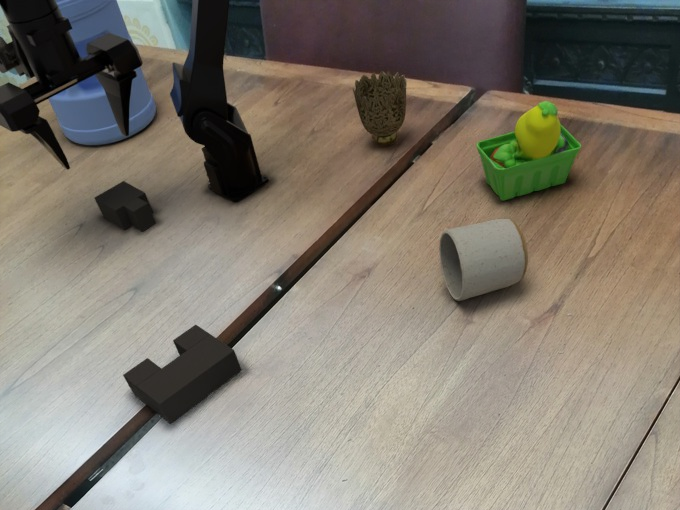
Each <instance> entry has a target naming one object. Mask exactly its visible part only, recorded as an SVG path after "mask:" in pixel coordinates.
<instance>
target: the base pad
mask: <svg viewBox="0 0 680 510" xmlns="http://www.w3.org/2000/svg"><path fill="white" fill-rule="evenodd" d="M172 342H173V344H174V347H175V348H176V350H177V353H178V355H179V356H177V357H176V358H174V359H173V360H171V361H170V362H168V363H167V364H166V365H165V366H163V367H160V366H159V365H157V364H156V363H155V362H153V360H151V359H150V358H148V357H147V358H145V359H143V360H142V361H141V362H139V363H138V364H137V365H135V366H133V367H132V368H130V369H129V370H128V371H126V372H125V373H123V375H122V376H123V378H124V381H125V382H126V383H127V385H128V387H129V388H130V391H131V392H132V394H133V395H134V396H135V397H136V398H137V399H139V400H140V401H141V402H142V403H144V404H145V405H146V406H147V407H148V408H150V409H151V410H152V411H154V412H155V413H156V414H157V415H159V416H160V417H161V418H162V419H164V420H165V421H166V422H168V423H169V424H172V423H173V422H174V421H176V420H177V419H179V418H180V417H182V416H183V415H184V414H185V413H187V412H188V411H189V410H191V409H192V408H193V407H195V406H196V405H198V404H199V403H200V402H201V401H203V400H204V399H206V398H207V397H208V396H210V395H211V394H212V393H214V392H215V391H217V390H218V389H219V388H220V387H222V386H223V385H224V384H226V383H227V382H228V381H230V380H232V378H233V377H235V376H237V375H238V374H240V372H242V368H241V367H242V366H241V364H240V361H239V359H238V356H237V353H236V351H235V350H234V349H233V348H232V347H230V346H228V344H226V343H224V342H223V341H222V340H220V339H219V338H217V337H215V336H214V335H213V334H211V333H209V332H208V331H207V330H205V329H204V328H202V327H200V326H199V325H198V324H194V325H192V327H190V328H189V329H187V330H186V331H184V332H183V333H181V334H180V335H178V336H177V337H175V338H174V339H173V340H172Z"/></svg>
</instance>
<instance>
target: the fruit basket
mask: <svg viewBox="0 0 680 510" xmlns="http://www.w3.org/2000/svg"><path fill="white" fill-rule="evenodd" d="M558 114H559V113H558V108H557V106H556V104H555V103H553V102H551V101H548V100H542V101H541V102H539V103H537V105H535V106H534V107H532V108H530V109H529V110H527V111H526V112H524V114H522V115H521V116H520V117H519V118H518V120H517V121H516V123H515V127H514V131H511V132H508V133H505V134H501V135H498V136H494V137H491V138H488V139H487V138H486V139H484V140H480V141H478V142H477V143H476V149H477V153H478V154H479V157H480V160H481V164H482V168H483V169H482V170H483V173H484V176H485V177H484V178H485V181H486V184H487V185H489V186H490V188H491V189H492V190H493V192H494V193H495V195H497V196H498V197H499V199H500V201H507V200H511V199H513V198H515V197H521V196H525V195H528V194H531V193H533V192H538V191H539V192H540V191H542V190H545V189H546V190H547V189H549V188H550V187H555V186H559V185H564V184H565V183H566V181H567V178H568V176H569V174H570V172H571V169H572V167H573V164H574V162H575V159H576V157H577V155H578V154H579V152H580V150H581V148H582V144H581V143H580V142H579V141H578V140H577V139H576V138H575V137H574V136H573V135H572V134H571V133H570V132H569V130H567V129H566V128H565V127H564V126H563V125H562V124H561V121H560V119H559V117H558Z"/></svg>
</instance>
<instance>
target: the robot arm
mask: <svg viewBox="0 0 680 510" xmlns="http://www.w3.org/2000/svg"><path fill="white" fill-rule="evenodd" d="M230 1H231V0H192V3H191V5H192V6H191V20H190V33H189V48H188V51H187V52H188V53H187V56H186V58H185V60H184V63H183V65H182V64H179V63H177V62H172V63H171V64H172V76H173V84H172V89H171V90H170V92H169V96H170V99H171V102H172V104H173V108H174V110H175V114H176V116H177V118H179V119H180V123H181V124H182V127H183V131H184V133H185V134H186V135H187V137H188V138H189V139H190V140H191V141H192V142H194V143H196V144H198V145H201V146H203V147H202V148H201V152H202V154H203V157H204V161H203V167H204V169H205V172H206V176H207V179H208V182H209V183H208V184H207V187H208V189H209V190H210V191H212V192H215V194H218V195H220V196H221V197H224V198H226V199H228V200H229V201H232V202H235V203H236V202H239V201H240V200H242V199H243V198H245V197H246V196H249V195H250V194H251V193H253V192H254V191H256V190H258V189H259V188H261V187H262V186H264V185H265V184H267V183H269V182H270V179H269V176H267V175H264V174H263V173H262V172H261V168H260V165H259V161H258V158H257V154H256V150H255V146H254V141H253V139H252V134H251V133H249V131H248V130H247V128H246V126H245V123H244V121H243V119H242V116H241V114H240V113H239V110H238V108H237V107H236V106H235V105H233V104H231V103H230V102H228V96H227V89H226V88H227V87H226V81H225V73H224V59H225V49H226V40H227V30H228V22H229V21H228V20H229V11H230ZM0 8H1V10H2V12H3V14H4V17H5V18H6V21H7V22H8V25H7V26H6V28H7V31H8V34H9V36H10V38H11V41H10V42H8V43H7V42H6V40H5V39H4V37H2V36H0V73H1V74H5V73H7V72H10V71H12V70H15V71H16V73H17V74H18V76H19V77H22V76H24V75H25V77H27V78H29V79H33V78H35V80H36V81H35V82H33V83H31V84H29V85H26V86H25V87H20V86H17V85H15V84H14V83H11V82H9V81H8V82H6V83H3V84H2V85H0V127H3V128H4V129H6V130H8V131H9V132H21V133H22V134H24V135H31V136H32V137H33V138H34V139H36V140H37V141H38V142H39V143H40V144H41V145H42V146H43V148H44V149H45V150H46V151H47V152H48V153H49V154H50V155H51V156H52V157H53V158H54V159H55V160H56V161H57V162H58V163H59V164H60V165H61V166H62V167H63V168H64V169H65V170H70V169H71V166H70V164H69V160H68V158H67V155H66V154H65V152H64V150H63V147H62V146H61V145H60V143H59V141H58V138H57V136H56V135H55V133H54V130H53V129H52V127H51V125H50V123H49V121H48V120H47V118H44V117H42V116H40V113H41V112H40V111H41V110H40V108H39V106H38V105H39V104H41V103H44V102H45V101H46V100H48V99H49V98H51V97H53V96H55V95H57V94H59V93H60V92H62V91H64V90H66V89H68V88H70V87H72V86H74V85H76V84H78V83H80V82H82V81H84V80H86V79H87V78H89V77H91V76H93V75H95V76H96V77H97V79H98V80H99V82H100V83H101V85H102V87H103V88H104V91H105V93H106V96H107V99H108V101H109V104H110V107H111V109H112V112H113V115H114V117H115V120H116V122H117V125H118V127H119V129H120V131H121V133H122V134H123V135H124V136H128V135H129V106H130V95H131V87H132V80H133V79H134V78H136V77H137V74H136V71H134V70H135V69H137V68H139V67H140V66H141V67H143V60H142V57H141V55H140V51H139V49H138V47H137V46H136V45H135V43H134V41H133V42H131V41H130V40H128V39H125V38H123V37H120V36H117V35H114V34H111V33H107V34H105V35H103V36H101V37H99V38H97V39H95V40H93V41H91V42H89V43H87V44H86V52H87V54H88V56H86V57H84V58H82V57H80V55H79V53H78V51H77V48H76V46H75V44H74V42H73V39H72V37H71V35H70V32H69V30H71V29H72V26H71V24H70V22H69V19H68V18H65V17H63V16H62V14H61V12H60V9H59V7H58V5H57V3H56V0H0ZM50 86H51V87H50Z"/></svg>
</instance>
